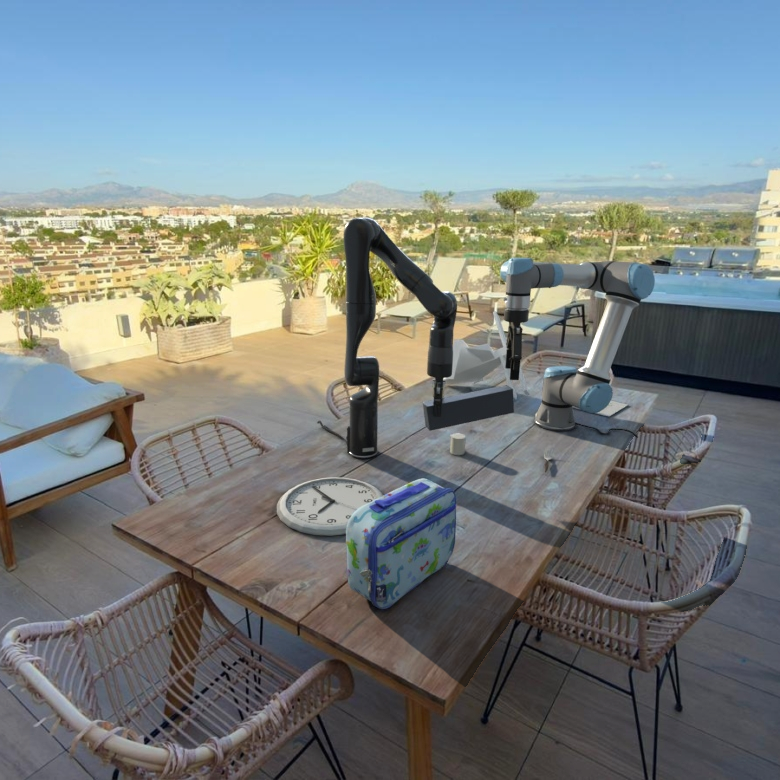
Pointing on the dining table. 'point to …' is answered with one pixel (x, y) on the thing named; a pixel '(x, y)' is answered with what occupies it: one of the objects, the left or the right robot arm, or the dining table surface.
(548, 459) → the fork
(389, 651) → the dining table surface
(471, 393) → the bar
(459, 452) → the off-white cylinder
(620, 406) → the invitation card
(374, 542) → the lunch box
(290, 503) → the wall clock
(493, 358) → the white plastic object
